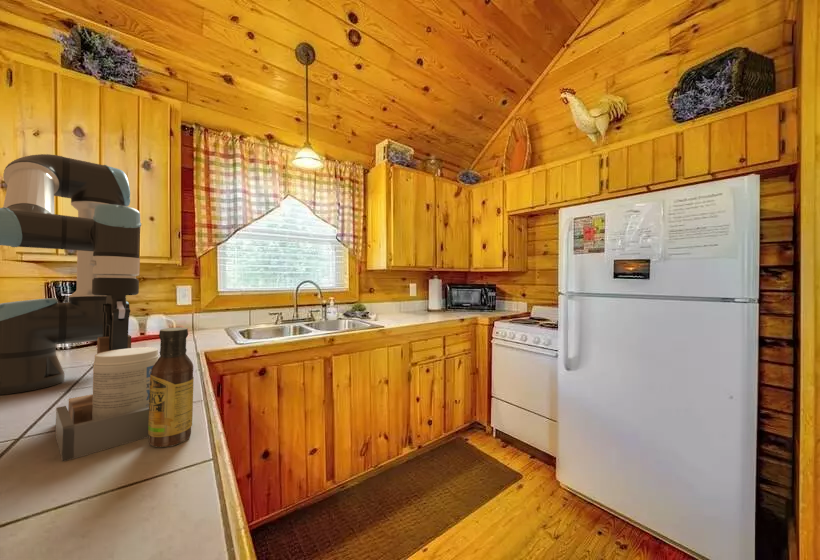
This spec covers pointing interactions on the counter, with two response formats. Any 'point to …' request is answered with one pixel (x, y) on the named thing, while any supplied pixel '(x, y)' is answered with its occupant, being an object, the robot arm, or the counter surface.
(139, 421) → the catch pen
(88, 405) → the wooden bracket
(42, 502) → the counter surface
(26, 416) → the counter surface
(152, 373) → the sauce bottle
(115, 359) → the supplement tub
